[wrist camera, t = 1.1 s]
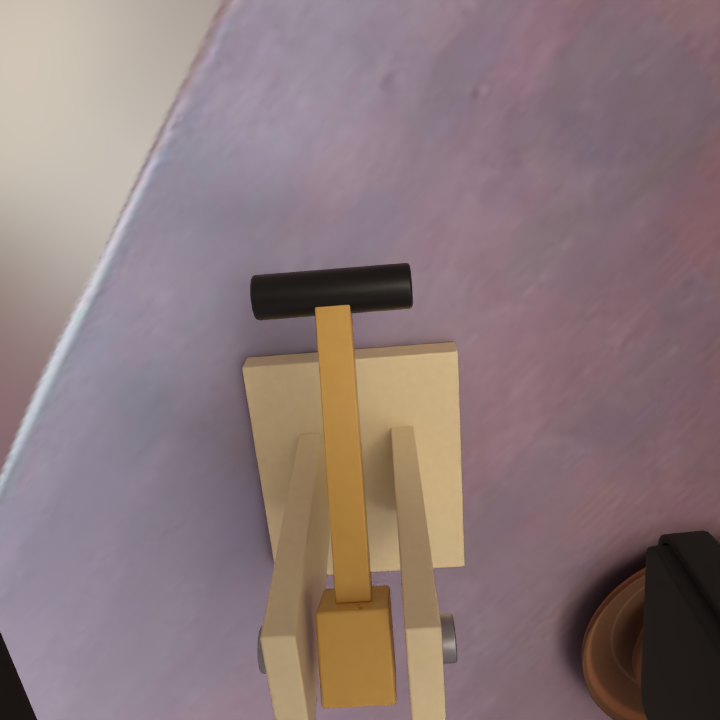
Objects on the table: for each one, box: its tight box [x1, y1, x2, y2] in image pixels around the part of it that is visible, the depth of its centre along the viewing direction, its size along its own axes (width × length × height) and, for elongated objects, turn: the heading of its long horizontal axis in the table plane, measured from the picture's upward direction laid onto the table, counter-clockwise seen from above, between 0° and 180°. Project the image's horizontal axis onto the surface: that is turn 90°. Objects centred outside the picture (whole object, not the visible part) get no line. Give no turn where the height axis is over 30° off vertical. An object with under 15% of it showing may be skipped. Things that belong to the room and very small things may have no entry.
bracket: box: [242, 342, 465, 720], centre depth 25 cm, size 11×9×13 cm
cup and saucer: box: [581, 567, 647, 720], centre depth 32 cm, size 12×12×6 cm
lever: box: [250, 263, 413, 708], centre depth 21 cm, size 13×5×2 cm, turn 5°
